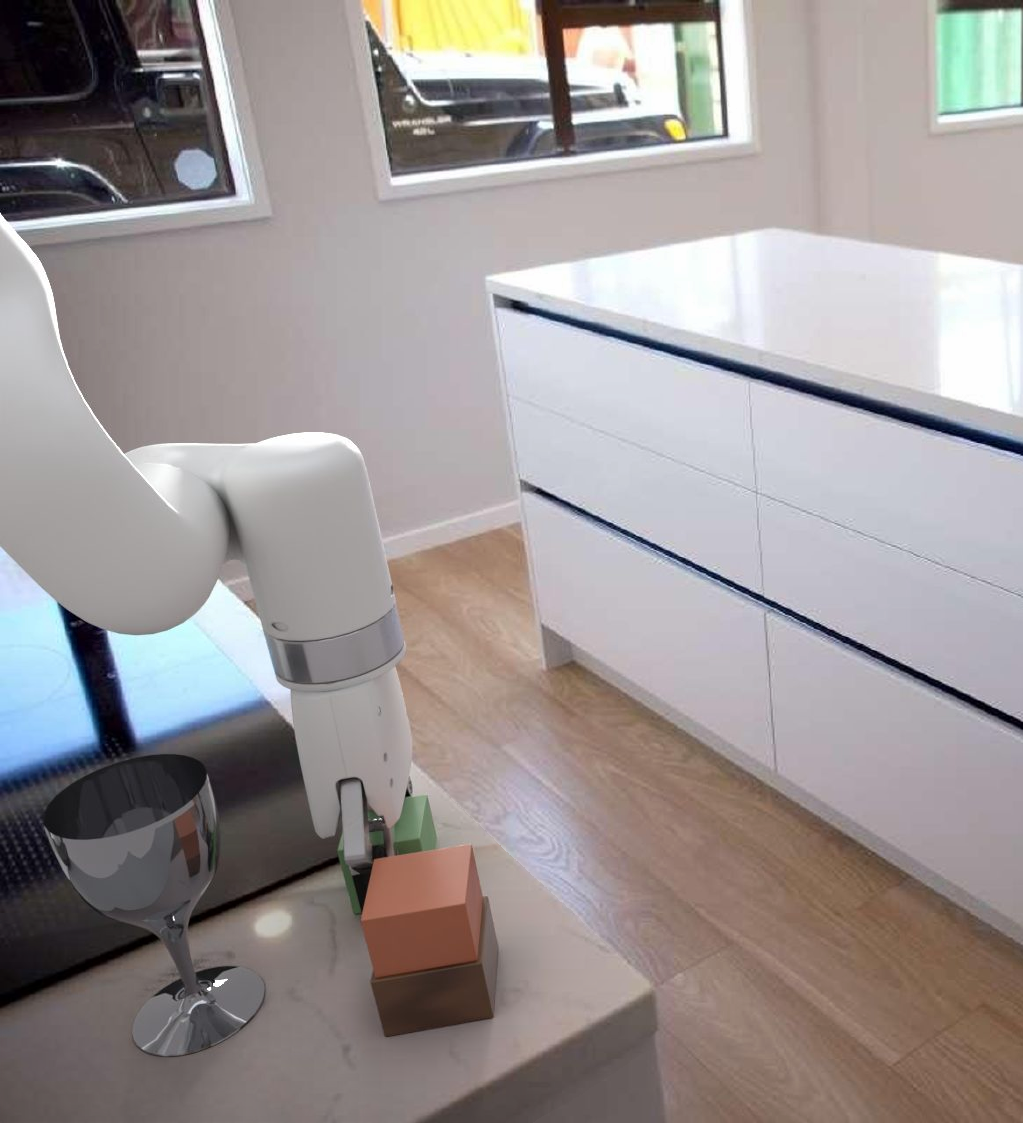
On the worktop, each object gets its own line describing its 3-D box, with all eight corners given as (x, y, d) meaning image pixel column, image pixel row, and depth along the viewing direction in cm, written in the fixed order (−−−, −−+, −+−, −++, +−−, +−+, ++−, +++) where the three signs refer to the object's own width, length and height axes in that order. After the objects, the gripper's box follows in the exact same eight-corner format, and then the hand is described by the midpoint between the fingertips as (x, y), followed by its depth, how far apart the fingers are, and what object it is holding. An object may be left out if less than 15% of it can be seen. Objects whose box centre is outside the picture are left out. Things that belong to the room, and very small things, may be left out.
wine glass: (301, 988, 75) (238, 775, 69) (179, 1082, 69) (98, 857, 63) (217, 946, 79) (151, 740, 73) (94, 1031, 73) (10, 814, 67)
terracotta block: (375, 978, 70) (360, 920, 68) (387, 914, 75) (373, 858, 73) (477, 960, 71) (465, 903, 69) (483, 898, 76) (471, 843, 74)
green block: (353, 915, 81) (336, 851, 79) (364, 867, 86) (348, 805, 84) (434, 902, 82) (419, 838, 80) (441, 855, 87) (427, 793, 84)
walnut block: (384, 1037, 71) (369, 982, 70) (397, 964, 77) (383, 912, 75) (493, 1018, 72) (481, 963, 71) (498, 947, 78) (487, 894, 76)
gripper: (298, 588, 83) (356, 816, 91) (237, 722, 68) (314, 983, 75) (416, 573, 85) (464, 799, 92) (383, 702, 69) (444, 961, 77)
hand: (396, 880), depth 84 cm, fingers open, 5 cm apart
